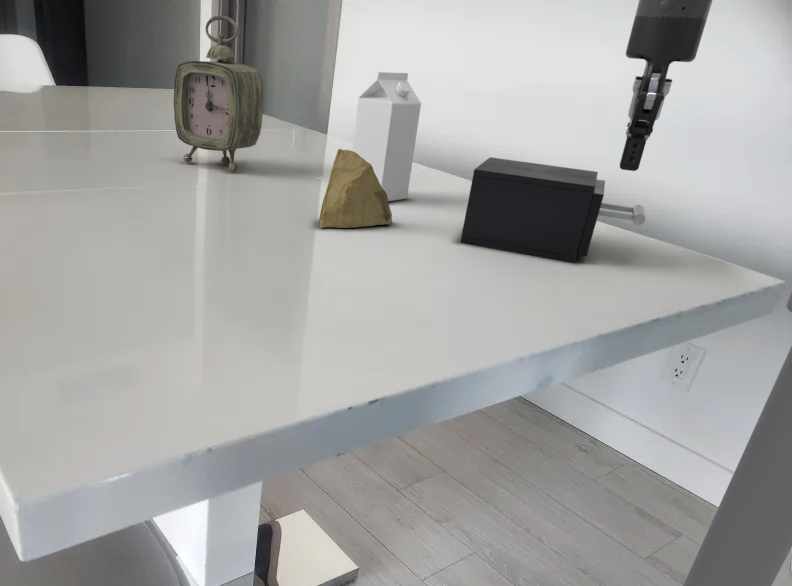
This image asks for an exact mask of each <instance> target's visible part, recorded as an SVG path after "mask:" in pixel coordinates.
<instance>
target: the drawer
mask: <svg viewBox="0 0 792 586" xmlns="http://www.w3.org/2000/svg"><path fill="white" fill-rule="evenodd" d="M605 185H606V180H603V179H598V178H597V179H596V185H595V190H594V193H593V197H592V200H591V204H590V208H589V211H588V215H587V219H586V222H585V226H584V230H583V233H582V237H581V241H580V244H579V248H578V251H577V255H576V256H581V257H587V256H588V253H589V249H590V246H591V242H592V238H593V235H594V230H595V228H596V224H597V220H598V218H599V216H601V217H607V218H616V219H621V220H626V221H627V220H628V221H632V222H633V224H634V225H635V226H641V225H642V224H644V223H645V222H646V214H645V207H644V206H643V205H641V204H636V205H634V206H633V207H631V206H625V205H619V204H613V203H612V204H611V203H605V202H603V199H604V196H605ZM617 211H618V212H617ZM630 213H631V214H630Z"/></svg>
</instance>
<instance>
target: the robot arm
mask: <svg viewBox="0 0 792 586" xmlns="http://www.w3.org/2000/svg"><path fill="white" fill-rule="evenodd" d="M713 1H714V0H638V3H637V7H636V11H635V15H634V18H633V24H632V26H631V31H630V35H629V38H628V42H627V46H626V50H625V56H626V58H628V59H634V60H635V59H636V60H644V61H645V67H644V70H643V74H642V76H639V75H635V77H634V80H633V84H632V88H631V89H632V97H631V100H630V104H629V108H628V112H627V114H628V118H629V122H627V125H626V126H627V128H626V131H625V135H626V139H625V144H624V147H623V150H622V154H621V158H620V161H619V168H620V170H623V171H631V172H637V171H638V169H639V168H640V165H641V160H642V157H643V154H644V152H645V151H644V150H645V146H646V144H647V141H648V140H649V138H650V137H651V135H652V133H653V131H654V126H655V122H656V121H657V120H659V119H660V116H661V113H662V109H663V105H664V102H665V99H666V96H668V95H669V93H670V91H671V86H672V83H673V79H672V78H667V76H668V71H669V67H670V65H671V64H673V63H674V62H678V63H679V62H680V63H692V62H693V61H694V60H695V59H696V57H697V53H698V50H699V47H700V44H701V41H702V38H703V33H704V30H705V27H706V23H707V20H708V16H709V13H710V11H711V7H712V4H713Z"/></svg>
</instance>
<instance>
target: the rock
mask: <svg viewBox="0 0 792 586" xmlns="http://www.w3.org/2000/svg"><path fill="white" fill-rule="evenodd" d="M389 202H390V201H388V197H387V194H386V192H385V191H384V190H383V188H382V187H381V185H380V183H379V180H378V178H377V177H376V175H375V173H374V170H373V167H372V165H371V164H370V163H368V162H367V161H366V160H364V159H363V158H362V157H360V156H359V155H358V154H357V153H355V152H354V151H353V150H351V149H342V148H338V149H337V152H336V155H335V158H334V161H333V164H332V167H331V171H330V175H329V179H328V183H327V187H326V190H325V194H324V196H323V200H322V203H321V209H320V212H319V213H320V214H319V218H318V219H319V221H318V226H319V228H320V229H325V228H338V229H349V228H350V229H351V228H363V227H375V226H382V225H390V224H391V225H392V224H393V213H392V210H391V206H390V203H389Z"/></svg>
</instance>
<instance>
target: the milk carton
mask: <svg viewBox="0 0 792 586" xmlns="http://www.w3.org/2000/svg"><path fill="white" fill-rule="evenodd" d="M376 77H377V79H376V80H375V82H373V83H372V84H371V85H370V86H369V87H367V89H366V90H365V91H364V92H363V93H362V94H361V95H360V96H359V97H358V98H357V107H356V117H355V125H354V134H353V141H352V142H353V143H352V151H354V152H355V153H357V154H358V155H359V156H360V157H362V158H363V159H364V160H366V161H367V162H368V163H370V164H371V165H372V167H373V170H374V173H375V175H376V177H377V178H378V180H379V183H380V185H381V187H382V188H383V190H384V191H385V192H386V194H387V197H388V202H393V201H400V200H405V199H408V193H409V187H410V180H411V174H412V166H413V161H414V154H415V148H416V141H417V134H418V127H419V121H420V115H421V114H420V113H421V107H422V102H421V100H420V98H419V97H418V95H417V94H416V93H415V91H414V89H413V88H412V86H411V84H410V82H409V81H408V78H409V73H408V72H386V71H384V72H383V71H378V72H377V76H376Z"/></svg>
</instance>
